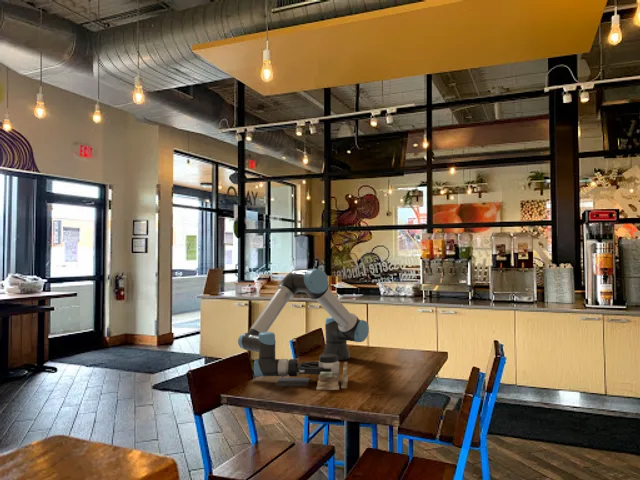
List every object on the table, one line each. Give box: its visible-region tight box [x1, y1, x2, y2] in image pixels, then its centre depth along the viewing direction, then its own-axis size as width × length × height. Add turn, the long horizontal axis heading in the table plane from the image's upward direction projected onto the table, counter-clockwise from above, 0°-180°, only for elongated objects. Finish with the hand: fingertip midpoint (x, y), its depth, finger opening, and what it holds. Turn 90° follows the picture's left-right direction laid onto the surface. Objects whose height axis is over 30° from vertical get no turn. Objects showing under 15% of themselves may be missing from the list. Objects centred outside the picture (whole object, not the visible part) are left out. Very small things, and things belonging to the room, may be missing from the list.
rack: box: [315, 361, 349, 391], centre depth 208 cm, size 13×17×8 cm
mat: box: [275, 377, 311, 387], centre depth 213 cm, size 14×12×1 cm
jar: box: [318, 353, 340, 384], centre depth 212 cm, size 9×8×12 cm
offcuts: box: [317, 372, 339, 387], centre depth 201 cm, size 8×3×6 cm, turn 85°
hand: (339, 367), depth 212 cm, fingers open, 8 cm apart
